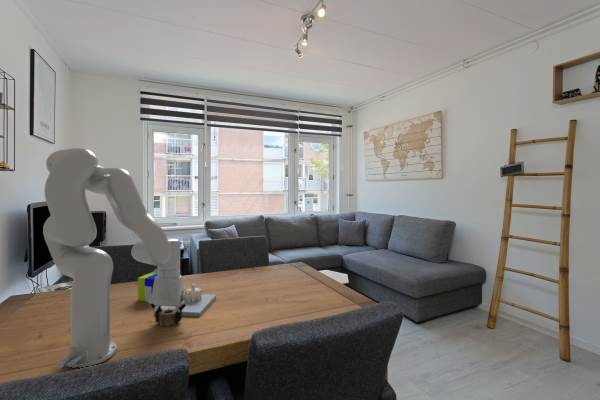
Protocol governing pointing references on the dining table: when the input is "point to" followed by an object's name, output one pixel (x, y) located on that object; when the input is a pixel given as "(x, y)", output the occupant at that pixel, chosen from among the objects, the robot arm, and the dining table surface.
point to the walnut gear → (167, 317)
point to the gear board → (194, 302)
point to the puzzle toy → (146, 286)
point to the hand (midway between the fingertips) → (168, 320)
